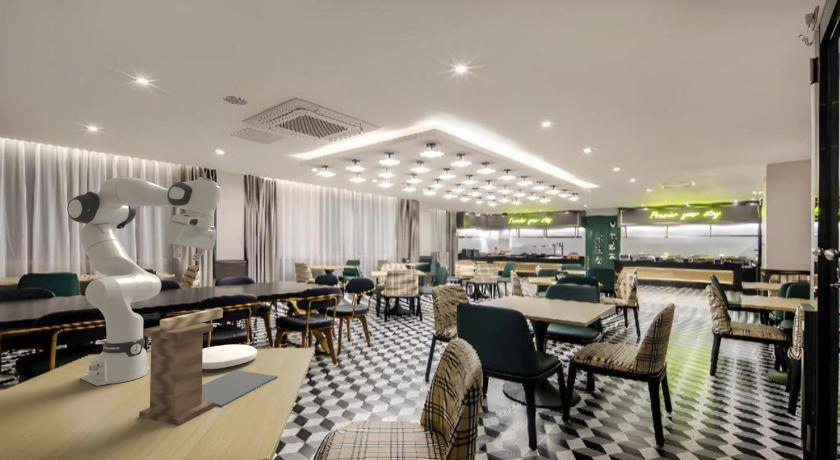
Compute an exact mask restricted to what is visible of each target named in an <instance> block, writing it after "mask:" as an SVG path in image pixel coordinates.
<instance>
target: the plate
mask: <svg viewBox="0 0 840 460" xmlns="http://www.w3.org/2000/svg"><path fill="white" fill-rule="evenodd" d="M257 357H258V349H257V348H256V347H255V346H251V345H249V344H248V345H247V344H224V345H223V344H222V345H215V346H209V347H205V348H204V347H203V354H202V370H217V369H224V368H229V367H234V366H237V365H241V364H245V363H248V362H250V361H252V360H254V359H256V358H257Z"/></svg>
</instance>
